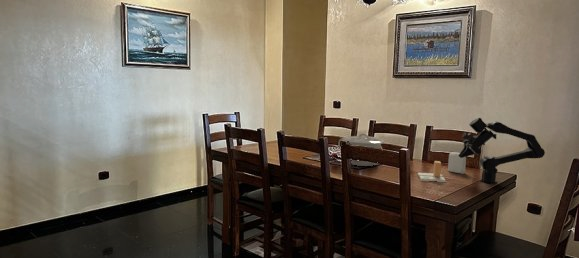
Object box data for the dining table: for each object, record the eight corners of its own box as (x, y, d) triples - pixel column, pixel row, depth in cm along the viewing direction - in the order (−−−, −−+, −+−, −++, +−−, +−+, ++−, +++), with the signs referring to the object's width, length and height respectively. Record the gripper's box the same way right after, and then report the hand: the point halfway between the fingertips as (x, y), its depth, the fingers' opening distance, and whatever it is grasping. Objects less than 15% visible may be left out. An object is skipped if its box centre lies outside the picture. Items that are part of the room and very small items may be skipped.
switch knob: (438, 176, 231) (439, 161, 230) (440, 178, 227) (441, 162, 225) (433, 176, 232) (434, 160, 230) (434, 178, 227) (435, 162, 226)
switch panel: (440, 176, 235) (440, 173, 235) (445, 182, 222) (445, 179, 222) (417, 175, 238) (417, 172, 237) (421, 181, 224) (421, 178, 224)
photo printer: (446, 171, 249) (448, 151, 247) (450, 170, 252) (451, 151, 250) (462, 174, 241) (464, 154, 240) (466, 173, 244) (467, 153, 242)
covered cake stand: (392, 168, 254) (393, 136, 251) (353, 170, 245) (354, 137, 243) (370, 159, 280) (371, 130, 277) (334, 161, 272) (335, 131, 269)
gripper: (467, 125, 231) (446, 143, 235) (476, 130, 213) (453, 149, 217) (480, 139, 231) (459, 157, 234) (491, 145, 213) (467, 164, 216)
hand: (459, 156), depth 225 cm, fingers open, 3 cm apart
